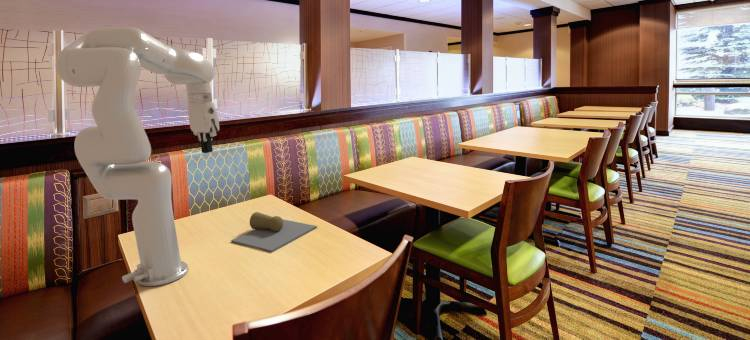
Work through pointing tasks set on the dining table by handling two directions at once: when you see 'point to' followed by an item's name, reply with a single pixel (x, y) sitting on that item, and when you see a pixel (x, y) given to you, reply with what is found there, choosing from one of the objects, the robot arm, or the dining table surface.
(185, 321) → the dining table surface
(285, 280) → the dining table surface
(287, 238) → the mat
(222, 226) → the dining table surface
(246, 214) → the dining table surface
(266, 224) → the cork
